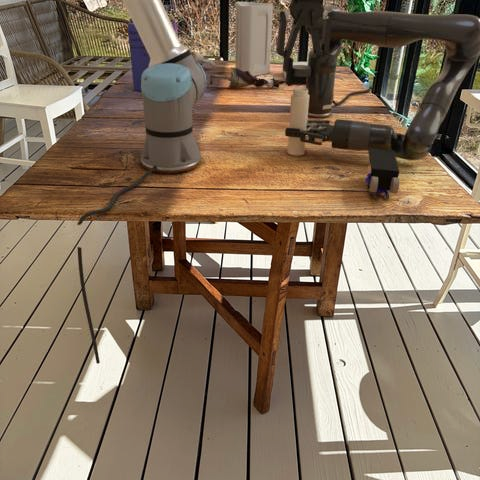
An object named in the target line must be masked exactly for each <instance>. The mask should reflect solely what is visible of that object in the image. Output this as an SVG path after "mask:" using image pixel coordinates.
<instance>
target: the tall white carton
mask: <svg viewBox="0 0 480 480" xmlns="http://www.w3.org/2000/svg"><path fill="white" fill-rule="evenodd" d="M273 8H274V4H273V3H269V2H267V3H266V2H265V3H264V2H252V1H235V59H234V60H235V62H234V63H235V65H234V66H235V67H234V68H237V69H240V70H242V71H244V72H245V71H249V72H250V73H251V75H252V76H256V77H257V76H259V75H260V76H261V75H266V74H270V73H271V56H272V55H271V54H272V33H273V32H272V31H273V10H274V9H273Z"/></svg>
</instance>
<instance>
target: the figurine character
mask: <svg viewBox="0 0 480 480" xmlns="http://www.w3.org/2000/svg"><path fill="white" fill-rule="evenodd" d="M367 153H368V158H369V165H368V166H367V169H366V173H367V174H366V177H365V182H366V184H367V189H368V190H369V193H372V198H374V199H377V194H384V197H385V199H386V200H389V199H390V194H398V192H399V188H400V178H399V175H400V169H399V164H398V161H397V157H395V153H394V151H388V150H378V149H368V150H367ZM389 192H390V193H389ZM376 193H377V194H376Z"/></svg>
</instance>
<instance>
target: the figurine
mask: <svg viewBox="0 0 480 480" xmlns="http://www.w3.org/2000/svg"><path fill="white" fill-rule="evenodd" d="M230 69H231V72H230V73H231V74H230V76H229V75H225V74H213V73H211V74H210V78H209V85H212V84H213V83H214V79H215V78H216V79H223V80H227V81H229V84H228V88H229V89H241V88H247V87H249V86H255V87H256V88H262V87H268V88H271V89H273V88H280V86H281V85H284V84H286V79H275V78H274V77H272V78H265V77H262V78H261V77H257V76H252V75H251V73H250V72H249V71H245V72H244V71H242V70H240V69H237V68H235V67H232V66H231V67H230Z"/></svg>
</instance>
